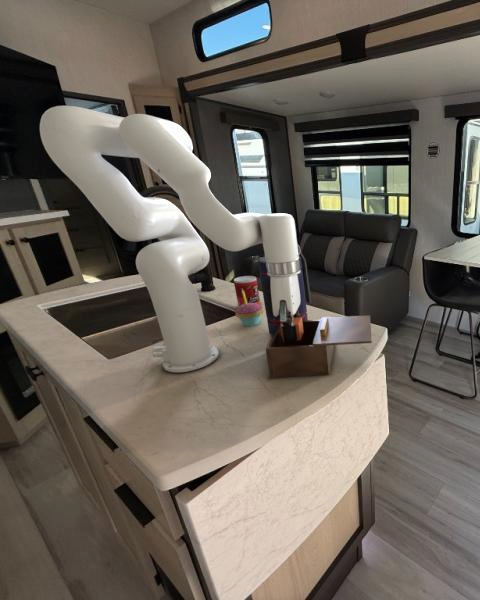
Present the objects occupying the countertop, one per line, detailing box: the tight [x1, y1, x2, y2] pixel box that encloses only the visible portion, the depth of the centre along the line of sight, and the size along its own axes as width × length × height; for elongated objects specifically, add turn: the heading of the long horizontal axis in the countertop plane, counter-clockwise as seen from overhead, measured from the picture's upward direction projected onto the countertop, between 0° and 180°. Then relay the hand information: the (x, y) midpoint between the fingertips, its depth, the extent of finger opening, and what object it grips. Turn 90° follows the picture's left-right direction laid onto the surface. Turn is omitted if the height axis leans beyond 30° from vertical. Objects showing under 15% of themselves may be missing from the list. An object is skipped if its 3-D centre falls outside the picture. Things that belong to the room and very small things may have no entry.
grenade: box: [257, 243, 312, 337], centre depth 96 cm, size 14×12×30 cm
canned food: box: [233, 275, 261, 307], centre depth 120 cm, size 8×8×11 cm
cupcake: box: [235, 289, 264, 327], centre depth 105 cm, size 9×8×12 cm
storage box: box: [265, 319, 335, 379], centre depth 84 cm, size 14×16×8 cm
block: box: [280, 317, 304, 341], centre depth 82 cm, size 4×4×4 cm
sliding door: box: [312, 314, 373, 346], centre depth 83 cm, size 14×16×2 cm
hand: (292, 334), depth 82 cm, fingers closed on block, 4 cm apart
